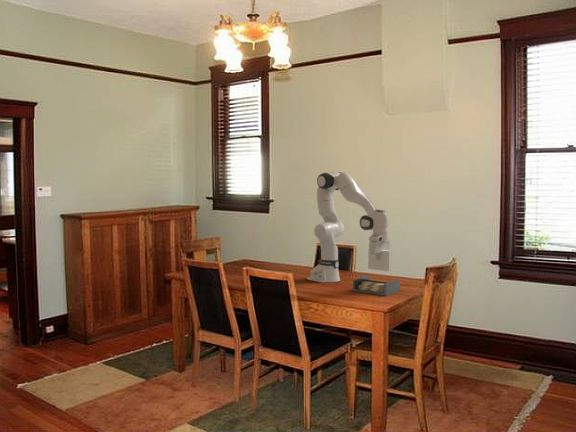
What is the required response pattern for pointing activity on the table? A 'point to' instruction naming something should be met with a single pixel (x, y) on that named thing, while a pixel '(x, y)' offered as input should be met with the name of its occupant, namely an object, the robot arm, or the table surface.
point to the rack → (388, 286)
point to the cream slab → (380, 261)
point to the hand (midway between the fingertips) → (379, 259)
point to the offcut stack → (372, 286)
